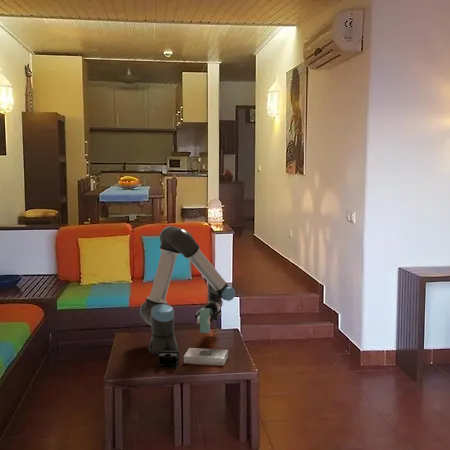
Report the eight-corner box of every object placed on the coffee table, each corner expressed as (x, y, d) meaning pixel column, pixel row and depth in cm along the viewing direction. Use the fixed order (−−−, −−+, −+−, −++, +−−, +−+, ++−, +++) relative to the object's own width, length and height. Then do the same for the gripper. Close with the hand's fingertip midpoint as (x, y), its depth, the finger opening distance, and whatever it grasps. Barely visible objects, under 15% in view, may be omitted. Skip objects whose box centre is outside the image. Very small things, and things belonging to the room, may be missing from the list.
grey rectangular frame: (183, 363, 280) (183, 356, 279) (189, 354, 292) (189, 347, 291) (223, 365, 277) (223, 358, 276) (227, 356, 288) (227, 349, 288)
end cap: (179, 362, 281) (179, 349, 280) (178, 368, 274) (177, 354, 273) (159, 362, 282) (159, 349, 281) (157, 367, 275) (157, 354, 274)
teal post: (199, 332, 296) (200, 310, 294) (201, 329, 300) (201, 307, 299) (208, 333, 295) (208, 310, 294) (210, 330, 300) (210, 308, 298)
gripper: (227, 316, 314) (219, 329, 291) (196, 314, 316) (186, 327, 294) (227, 303, 313) (219, 315, 290) (196, 301, 315) (186, 313, 293)
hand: (203, 321), depth 292 cm, fingers closed on teal post, 4 cm apart
